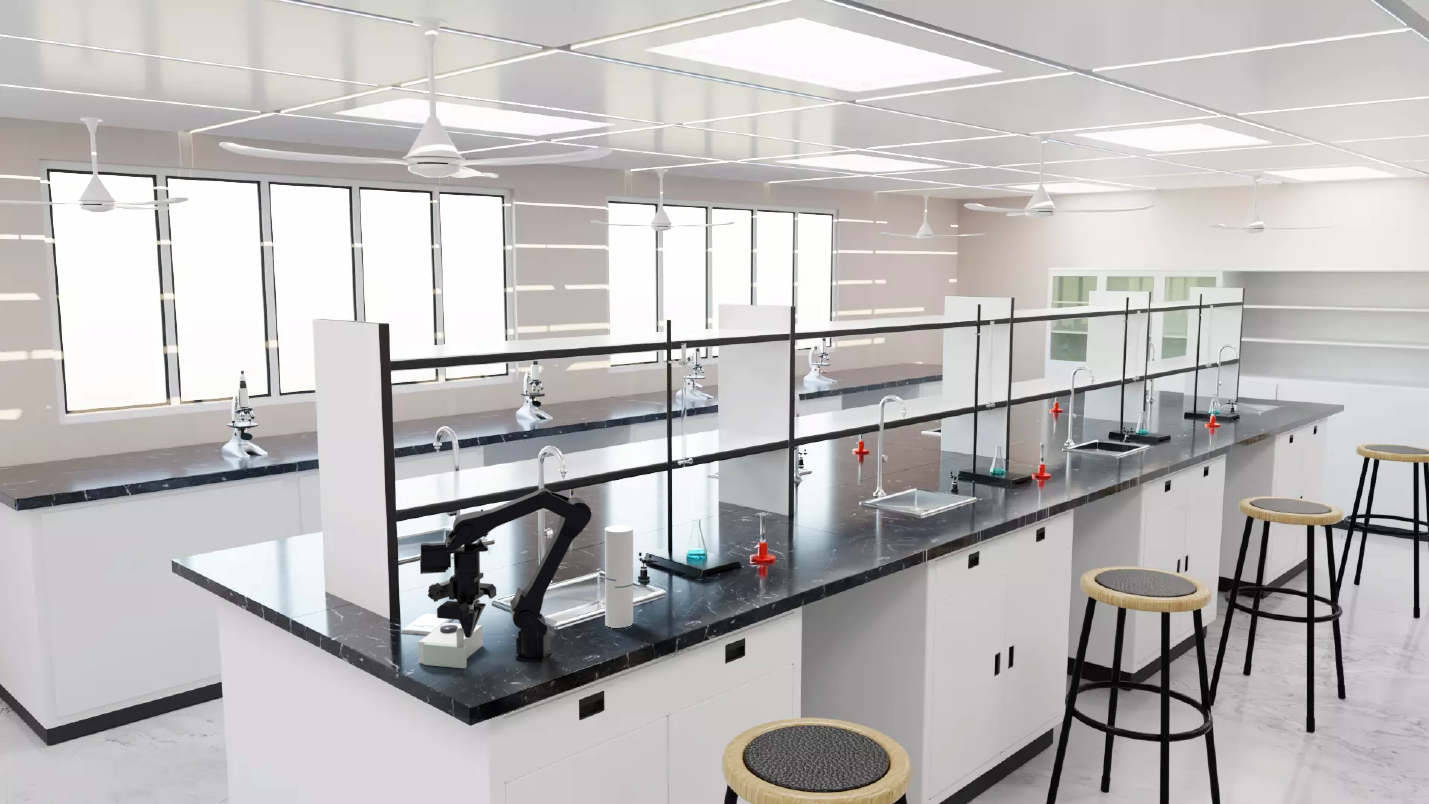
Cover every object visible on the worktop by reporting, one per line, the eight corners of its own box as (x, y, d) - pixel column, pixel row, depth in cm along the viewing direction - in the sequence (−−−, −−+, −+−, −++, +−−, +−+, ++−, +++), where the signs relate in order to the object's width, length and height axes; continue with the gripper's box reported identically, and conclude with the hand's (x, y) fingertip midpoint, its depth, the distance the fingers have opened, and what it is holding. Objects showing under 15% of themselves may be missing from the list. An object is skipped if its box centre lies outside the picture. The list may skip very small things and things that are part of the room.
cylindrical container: (613, 618, 262) (612, 524, 259) (637, 621, 259) (637, 526, 256) (600, 626, 255) (599, 530, 252) (625, 630, 253) (625, 533, 250)
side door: (467, 666, 227) (466, 628, 226) (464, 668, 226) (463, 630, 225) (426, 662, 229) (425, 625, 228) (423, 665, 228) (422, 627, 227)
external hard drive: (453, 621, 260) (431, 637, 248) (423, 619, 262) (401, 635, 250) (453, 615, 260) (431, 631, 248) (423, 613, 262) (400, 628, 249)
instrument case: (482, 645, 241) (482, 623, 241) (457, 666, 228) (456, 642, 227) (445, 642, 243) (445, 620, 242) (418, 663, 230) (418, 639, 229)
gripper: (453, 557, 239) (454, 621, 240) (414, 579, 220) (415, 648, 222) (496, 560, 236) (497, 624, 238) (461, 583, 218) (462, 652, 220)
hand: (468, 637), depth 230 cm, fingers closed
